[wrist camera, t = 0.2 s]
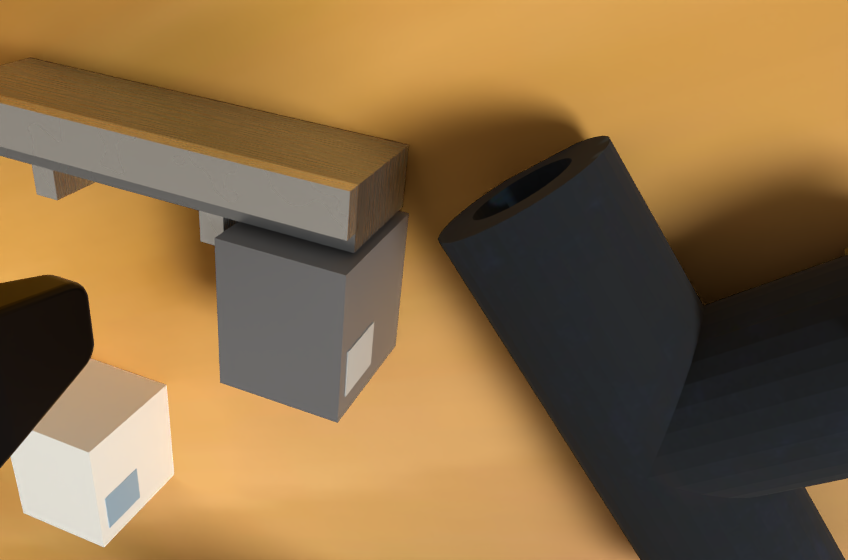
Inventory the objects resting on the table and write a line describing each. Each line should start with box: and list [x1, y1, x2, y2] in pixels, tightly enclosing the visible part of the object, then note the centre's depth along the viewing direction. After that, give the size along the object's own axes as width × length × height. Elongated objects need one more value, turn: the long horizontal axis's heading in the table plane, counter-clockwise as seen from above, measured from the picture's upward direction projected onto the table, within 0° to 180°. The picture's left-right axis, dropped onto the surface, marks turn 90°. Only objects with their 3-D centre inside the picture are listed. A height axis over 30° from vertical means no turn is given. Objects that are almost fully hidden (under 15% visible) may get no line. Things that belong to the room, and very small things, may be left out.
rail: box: [0, 58, 409, 253], centre depth 23 cm, size 3×14×4 cm, turn 84°
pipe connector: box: [438, 136, 848, 560], centre depth 19 cm, size 12×5×15 cm
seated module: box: [214, 211, 409, 423], centre depth 24 cm, size 5×4×4 cm
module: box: [11, 358, 174, 547], centre depth 31 cm, size 5×4×4 cm
